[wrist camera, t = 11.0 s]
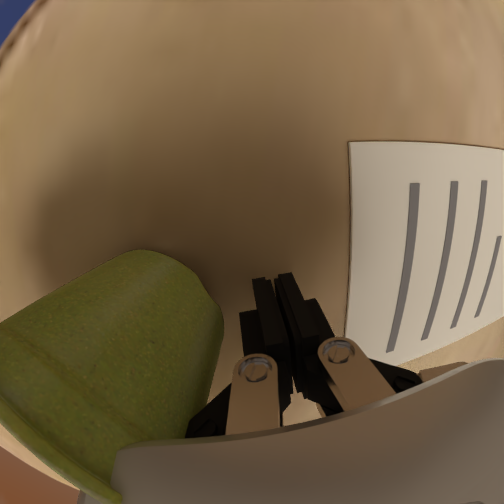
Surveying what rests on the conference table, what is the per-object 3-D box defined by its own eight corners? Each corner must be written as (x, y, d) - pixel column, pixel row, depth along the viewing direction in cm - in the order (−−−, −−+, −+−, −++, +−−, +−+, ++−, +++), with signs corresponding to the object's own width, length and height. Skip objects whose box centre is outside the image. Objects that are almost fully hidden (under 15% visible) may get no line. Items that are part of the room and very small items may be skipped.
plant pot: (243, 400, 14) (193, 543, 6) (97, 341, 15) (16, 440, 7) (291, 246, 9) (204, 545, 2) (77, 191, 10) (-88, 284, 3)
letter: (515, 307, 18) (517, 308, 18) (338, 381, 17) (339, 384, 17) (547, 158, 12) (549, 158, 11) (348, 142, 11) (350, 142, 10)
